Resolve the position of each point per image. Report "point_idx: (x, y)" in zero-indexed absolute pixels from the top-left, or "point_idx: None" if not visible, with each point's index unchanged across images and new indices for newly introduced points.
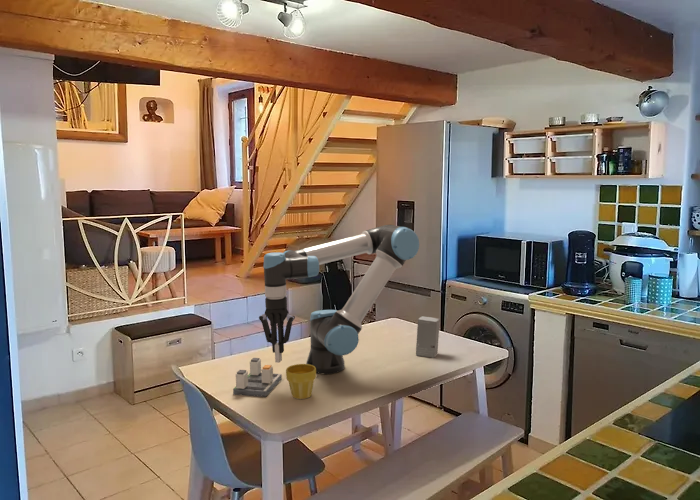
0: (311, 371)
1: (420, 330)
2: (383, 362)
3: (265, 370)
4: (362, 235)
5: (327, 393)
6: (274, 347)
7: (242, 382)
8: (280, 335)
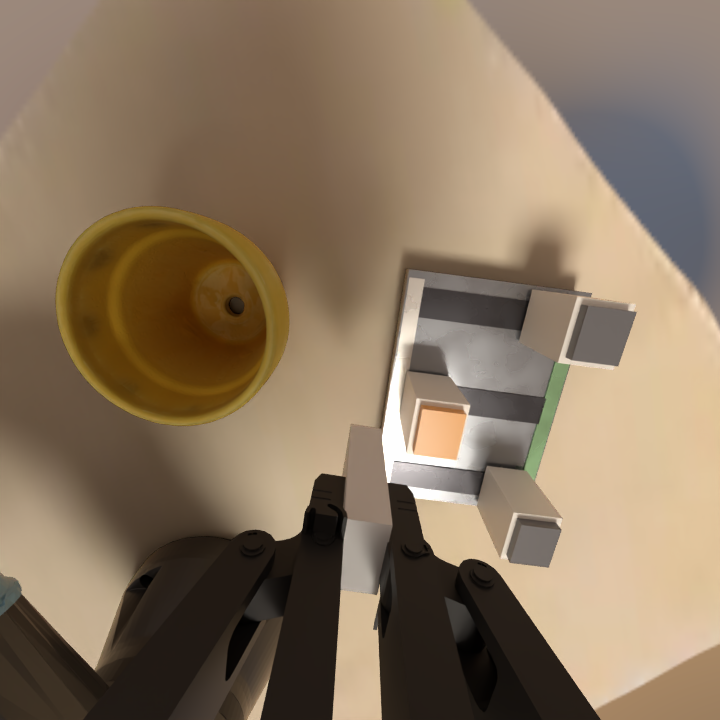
0: (140, 379)
1: None
2: None
3: (442, 400)
4: None
5: None
6: (395, 516)
7: (559, 293)
8: (294, 637)
